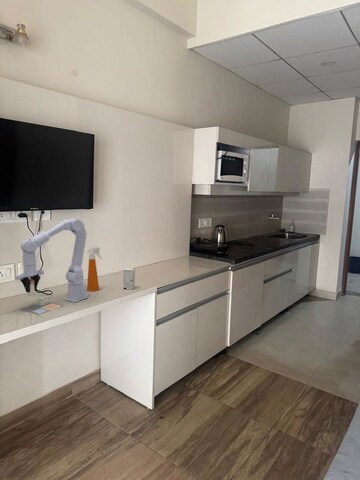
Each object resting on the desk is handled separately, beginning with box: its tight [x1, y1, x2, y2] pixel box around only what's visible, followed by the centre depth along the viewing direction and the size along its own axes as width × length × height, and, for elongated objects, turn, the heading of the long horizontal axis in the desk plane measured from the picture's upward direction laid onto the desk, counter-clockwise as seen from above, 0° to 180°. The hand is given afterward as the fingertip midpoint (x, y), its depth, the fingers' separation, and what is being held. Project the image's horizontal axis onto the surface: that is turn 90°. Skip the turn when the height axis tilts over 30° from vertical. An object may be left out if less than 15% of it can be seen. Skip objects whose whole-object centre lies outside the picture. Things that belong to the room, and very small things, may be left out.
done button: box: [37, 296, 47, 302], centre depth 179 cm, size 3×3×2 cm
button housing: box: [34, 298, 50, 306], centre depth 179 cm, size 5×5×2 cm
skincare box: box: [122, 267, 136, 290], centre depth 208 cm, size 6×4×12 cm
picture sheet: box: [18, 302, 64, 315], centre depth 174 cm, size 15×15×1 cm
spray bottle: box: [86, 246, 104, 292], centre depth 203 cm, size 7×11×26 cm, turn 71°
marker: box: [27, 278, 36, 297], centre depth 171 cm, size 3×3×8 cm
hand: (31, 291), depth 171 cm, fingers closed on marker, 3 cm apart
